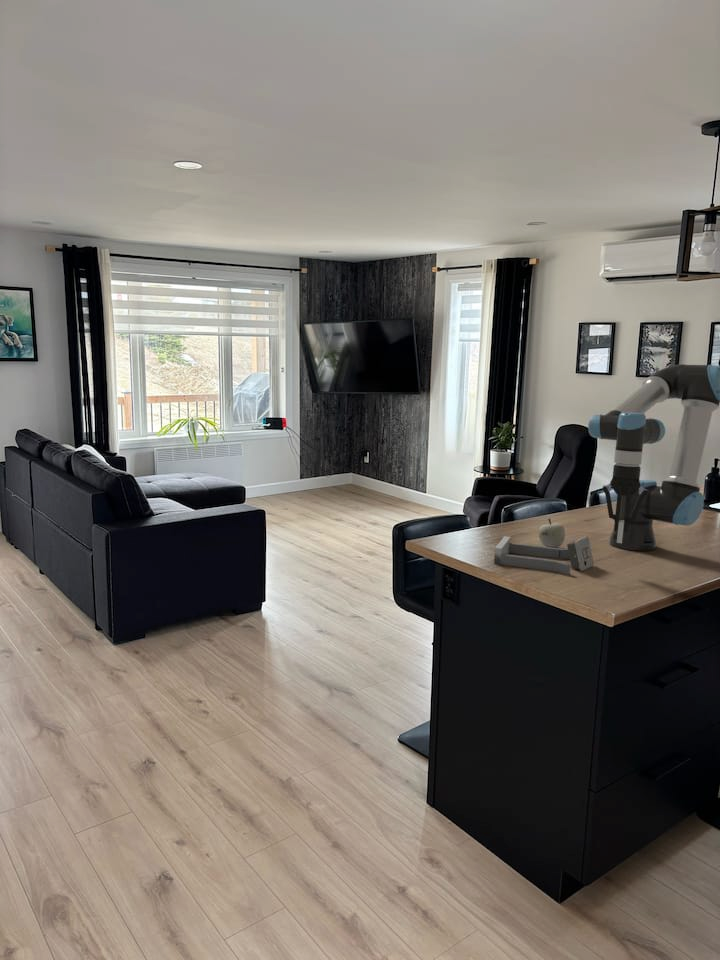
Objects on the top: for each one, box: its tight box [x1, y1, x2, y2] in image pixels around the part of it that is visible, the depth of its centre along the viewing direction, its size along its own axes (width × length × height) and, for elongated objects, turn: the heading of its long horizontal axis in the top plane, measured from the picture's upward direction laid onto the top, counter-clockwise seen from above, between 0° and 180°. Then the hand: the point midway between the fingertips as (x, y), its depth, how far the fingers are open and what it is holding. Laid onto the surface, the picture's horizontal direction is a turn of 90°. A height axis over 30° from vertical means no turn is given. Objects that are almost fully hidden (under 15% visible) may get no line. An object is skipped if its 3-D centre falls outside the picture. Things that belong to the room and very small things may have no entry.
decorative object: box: [538, 518, 566, 548], centre depth 240 cm, size 9×9×10 cm
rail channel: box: [493, 535, 575, 576], centre depth 223 cm, size 23×21×5 cm
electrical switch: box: [566, 536, 595, 572], centre depth 218 cm, size 9×5×9 cm, turn 141°
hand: (619, 542), depth 213 cm, fingers closed
